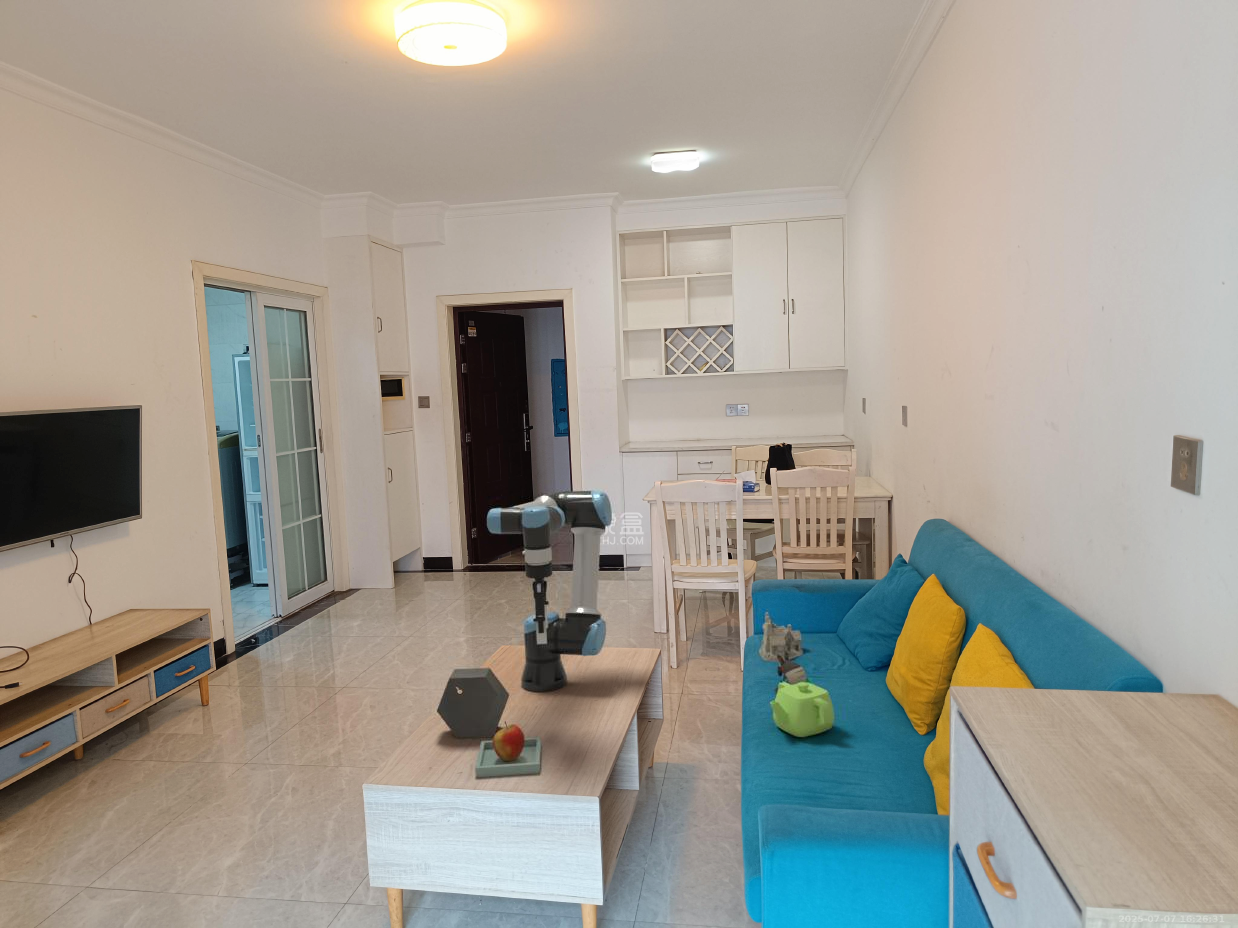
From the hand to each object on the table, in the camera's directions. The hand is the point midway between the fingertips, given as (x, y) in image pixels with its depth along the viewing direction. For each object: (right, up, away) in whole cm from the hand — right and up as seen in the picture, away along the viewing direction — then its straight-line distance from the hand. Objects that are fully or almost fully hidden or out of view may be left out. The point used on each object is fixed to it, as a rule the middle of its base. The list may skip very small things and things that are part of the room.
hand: (542, 635), depth 229 cm
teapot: (+71, -26, -5) cm, 76 cm away
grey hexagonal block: (-19, -28, +2) cm, 34 cm away
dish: (-7, -29, -17) cm, 35 cm away
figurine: (+76, -23, +24) cm, 83 cm away
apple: (-7, -29, -17) cm, 34 cm away
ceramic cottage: (+80, -20, +60) cm, 102 cm away
